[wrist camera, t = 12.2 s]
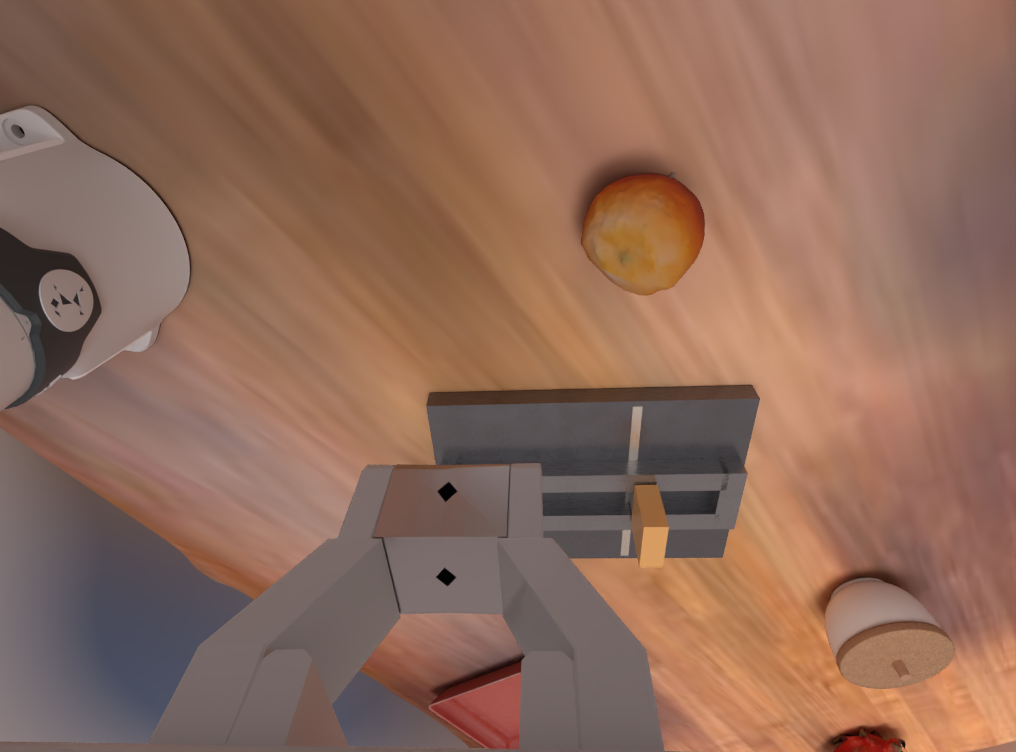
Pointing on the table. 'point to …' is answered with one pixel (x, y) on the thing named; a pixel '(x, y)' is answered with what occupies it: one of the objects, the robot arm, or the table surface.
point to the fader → (648, 525)
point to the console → (612, 457)
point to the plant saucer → (485, 707)
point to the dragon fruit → (868, 743)
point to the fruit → (644, 232)
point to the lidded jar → (884, 635)
